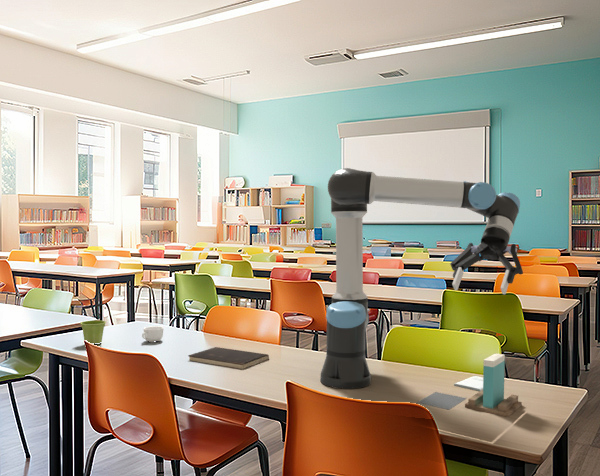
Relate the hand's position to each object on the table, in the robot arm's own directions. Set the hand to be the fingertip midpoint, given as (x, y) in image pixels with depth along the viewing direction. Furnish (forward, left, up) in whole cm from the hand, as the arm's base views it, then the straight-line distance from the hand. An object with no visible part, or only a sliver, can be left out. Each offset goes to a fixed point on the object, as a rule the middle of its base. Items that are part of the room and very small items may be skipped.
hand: (478, 289), depth 153 cm
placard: (+11, -1, -28) cm, 30 cm away
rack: (+11, -1, -30) cm, 31 cm away
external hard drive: (-9, +5, -30) cm, 32 cm away
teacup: (-88, -92, -30) cm, 131 cm away
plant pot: (-87, -114, -30) cm, 147 cm away
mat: (+4, -12, -30) cm, 32 cm away
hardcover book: (-53, -64, -30) cm, 89 cm away
